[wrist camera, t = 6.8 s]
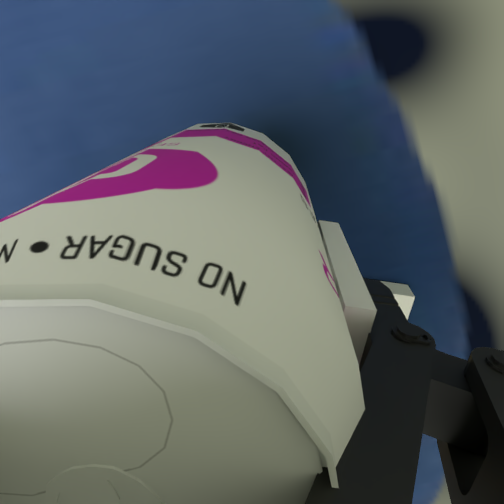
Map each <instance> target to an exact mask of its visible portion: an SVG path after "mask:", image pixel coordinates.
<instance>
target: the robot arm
mask: <svg viewBox="0 0 504 504" xmlns="http://www.w3.org/2000/svg"><path fill="white" fill-rule="evenodd" d="M318 227H319V231H320V234H321V238H322V241H323V245H324V248H325V251H326V255H327V258H328V262H329V265H330V268H331V272H332V275H333V279H334V282H335V286H336V289H337V292H338V296H339V299H340V303H341V306H342V309H343V313H344V316H345V320H346V323H347V327H348V330H349V333H350V337H351V340H352V344H353V347H354V350H355V354H356V357H357V361H358V364H359V371H360V378H361V384H362V391H363V398H364V405H365V410H364V412H363V414H362V416H361V418H360V420H359V422H358V424H357V426H356V428H355V430H354V432H353V434H352V436H351V438H350V440H349V442H348V444H347V446H346V448H345V450H344V452H343V454H342V456H341V458H340V460H339V462H338V464H337V466H336V474H337V480H338V487H339V488H333V487H332V486H331V481H330V477H329V472H328V467H322V471H323V472H321V473H320V474H319V473H317V475H316V478H315V480H314V482H313V485H312V487H311V489H310V492H309V494H308V497H307V499H306V501H305V504H412V498H413V492H414V485H415V479H416V472H417V465H418V459H419V452H420V446H421V439H422V433H423V434H426V435H429V436H431V437H434V438H436V439H437V444H438V448H439V452H440V457H441V461H442V465H443V469H444V474H445V478H446V482H447V486H448V491H449V495H450V499H451V503H452V504H504V351H502V350H501V351H500V350H497V349H494V348H487V347H480V348H475V349H474V350H473V351H472V352H471V354H470V357H469V359H468V361H467V360H464V359H461V358H458V357H455V356H451V355H448V354H445V353H443V352H440V351H438V350H436V349H435V347H436V344H435V340H434V339H433V337H432V336H431V335H430V334H429V333H428V332H426V331H425V330H423V329H422V328H420V327H418V326H416V325H413V324H411V323H409V322H408V321H407V319H406V317H405V315H404V313H403V311H402V310H401V308H400V306H398V305H399V304H398V302H397V301H396V299H395V297H394V295H393V293H392V292H391V290H390V288H388V287H387V286H386V285H384V284H383V283H382V282H381V281H379V280H372V279H365V278H362V276H361V273H360V271H359V269H358V267H357V264H356V262H355V260H354V257H353V255H352V253H351V251H350V248H349V246H348V244H347V242H346V239H345V237H344V235H343V233H342V230H341V228H340V226H339V224H338V223H335V222H328V221H321V220H319V222H318Z"/></svg>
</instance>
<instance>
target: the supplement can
mask: <svg viewBox="0 0 504 504" xmlns="http://www.w3.org/2000/svg"><path fill="white" fill-rule="evenodd" d="M364 410H365V405H364V398H363V391H362V384H361V378H360V371H359V364H358V361H357V357H356V354H355V350H354V347H353V344H352V340H351V337H350V333H349V330H348V327H347V323H346V320H345V316H344V313H343V309H342V306H341V303H340V299H339V296H338V292H337V289H336V286H335V282H334V279H333V275H332V272H331V268H330V265H329V262H328V258H327V255H326V251H325V248H324V245H323V241H322V238H321V234H320V231H319V227H318V224H317V221H316V217H315V214H314V210H313V207H312V204H311V200H310V197H309V193H308V190H307V186H306V183H305V181H304V179H303V178H302V176H301V174H300V173H299V171H298V169H297V167H296V166H295V164H294V162H293V161H292V159H291V157H290V155H289V154H288V153H286V152H285V151H284V150H283V149H281V148H280V147H279V146H278V145H277V144H275V143H274V142H273V141H272V140H270V139H269V138H268V137H267V136H266V135H264V134H263V133H260V132H257V131H254V130H251V129H248V128H245V127H242V126H239V125H236V124H233V123H211V124H197V125H194V126H192V127H190V128H187V129H185V130H183V131H181V132H178V133H176V134H174V135H171V136H169V137H167V138H165V139H163V140H161V141H159V142H157V143H155V144H153V145H151V146H149V147H147V148H145V149H143V150H141V151H138V152H136V153H134V154H132V155H130V156H128V157H126V158H124V159H122V160H120V161H118V162H116V163H114V164H112V165H110V166H108V167H106V168H104V169H102V170H100V171H98V172H96V173H94V174H92V175H90V176H88V177H86V178H84V179H82V180H80V181H78V182H76V183H74V184H72V185H70V186H67V187H65V188H63V189H61V190H59V191H57V192H55V193H53V194H51V195H49V196H47V197H45V198H43V199H41V200H39V201H37V202H35V203H33V204H31V205H29V206H27V207H25V208H23V209H21V210H19V211H17V212H15V213H13V214H11V215H9V216H7V217H5V218H3V219H1V220H0V504H305V501H306V499H307V497H308V494H309V492H310V489H311V487H312V485H313V482H314V480H315V478H316V475H317V473H319V474H320V473H321V472H323V471H322V467H328V472H329V477H330V481H331V486H332V487H333V488H339V487H338V480H337V474H336V466H337V464H338V462H339V460H340V458H341V456H342V454H343V452H344V450H345V448H346V446H347V444H348V442H349V440H350V438H351V436H352V434H353V432H354V430H355V428H356V426H357V424H358V422H359V420H360V418H361V416H362V414H363V412H364Z"/></svg>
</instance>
